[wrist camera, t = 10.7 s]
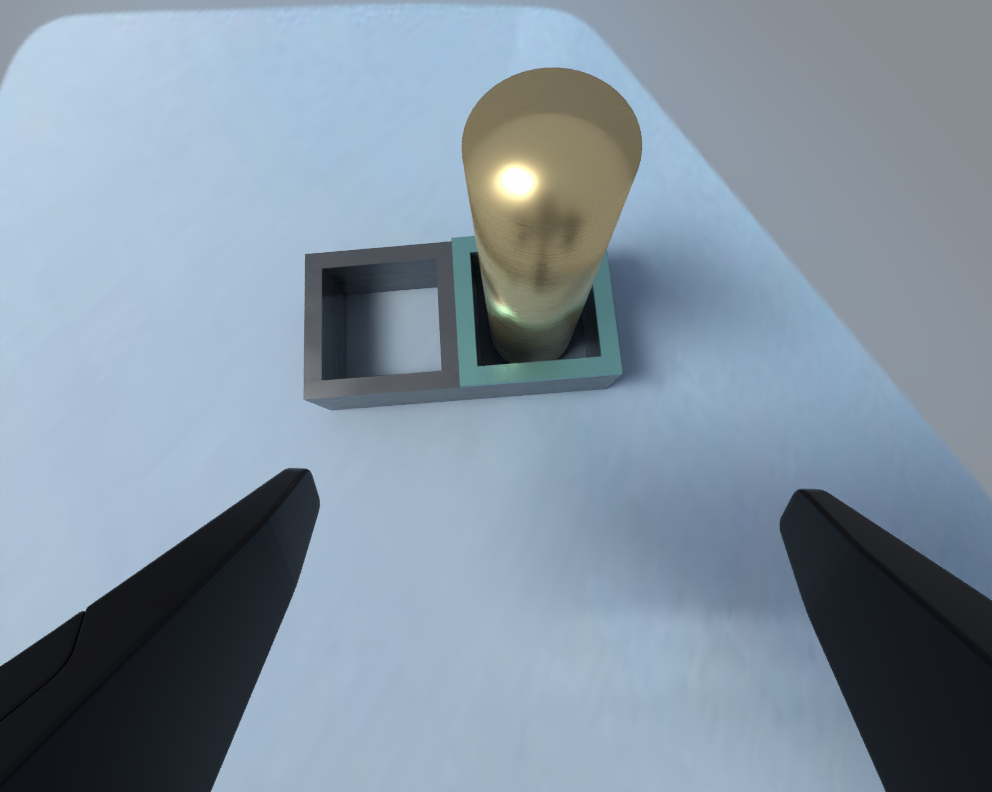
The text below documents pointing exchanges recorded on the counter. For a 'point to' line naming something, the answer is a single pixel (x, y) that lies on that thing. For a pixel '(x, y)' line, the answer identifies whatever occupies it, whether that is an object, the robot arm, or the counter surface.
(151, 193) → the counter surface
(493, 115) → the brass post
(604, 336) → the hole rail
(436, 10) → the counter surface
